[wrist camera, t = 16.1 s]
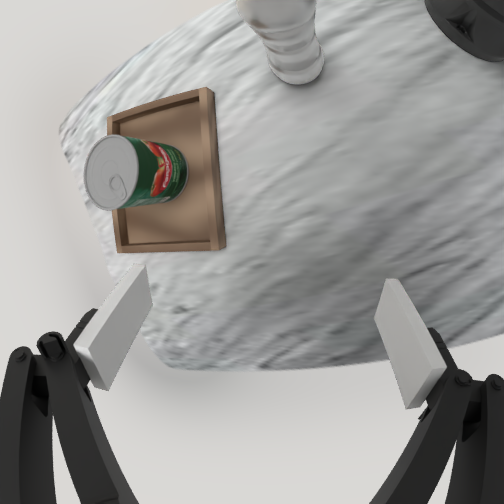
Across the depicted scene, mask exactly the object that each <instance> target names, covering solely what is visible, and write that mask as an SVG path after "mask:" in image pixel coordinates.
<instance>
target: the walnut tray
mask: <svg viewBox="0 0 504 504" xmlns="http://www.w3.org/2000/svg"><path fill="white" fill-rule="evenodd" d="M112 134H113V135H120V136H125V137H132V138H137V139H142V140H147V141H153V142H157V143H163V144H168V145H172V146H175V147H176V148H178V149H179V150H180V151H181V152H182V153H183V154H184V156H185V157H186V160H187V163H188V168H189V176H188V181H187V184H186V187H185V188H184V190H183V192H182V193H181V194H180V195H179V196H178V197H177V198H176V199H174V200H172V201H170V202H167V203H158V204H151V205H144V206H136V207H128V208H122V209H115V210H112V217H113V225H114V233H115V241H116V248H117V253H143V252H177V251H211V250H220V249H222V248H224V247H226V238H225V227H224V216H223V205H222V193H221V181H220V169H219V156H218V142H217V128H216V113H215V97H214V92H213V91H211V90H210V89H209V88H207V87H204V88H200V89H195V90H191V91H188V92H184V93H180V94H176V95H173V96H169V97H166V98H162V99H159V100H156V101H153V102H149V103H146V104H143V105H140V106H137V107H134V108H131V109H129V110H126V111H123V112H120V113H117V114H115V115H112V116H110V117H107V136H108V135H112Z"/></svg>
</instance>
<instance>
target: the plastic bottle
mask: <svg viewBox="0 0 504 504" xmlns="http://www.w3.org/2000/svg"><path fill="white" fill-rule="evenodd" d="M236 7H237V10H238V13H239V14H240V16H241V17H242V19H243V20H244V21H245V22H246V23H247V24H248V25H249V26H250V27H251V28H252V29H253V30H254V31H255V32H256V33H257V34H258V36H259V37H260V39H261V40H262V42H263V43H264V45H265V48H266V51H267V59H268V63H269V66H270V68H271V70H272V71H273V73H274V74H275V75H276V76H278V77H279V78H280V79H281V80H283V81H285V82H287V83H290V84H296V85H298V84H305V83H308V82H310V81H312V80H314V79H315V78H316V77H317V76H318V75H319V74H320V72H321V70H322V67H323V64H324V53H323V50H322V47H321V45H320V43H319V42H318V40H317V37H316V34H315V23H314V20H315V11H316V0H236Z"/></svg>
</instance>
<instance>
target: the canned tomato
mask: <svg viewBox="0 0 504 504" xmlns="http://www.w3.org/2000/svg"><path fill="white" fill-rule="evenodd" d="M188 176H189V168H188V163H187V160H186V157H185V156H184V154H183V153H182V152H181V151H180V150H179V149H178V148H176V147H175V146H172V145H168V144H163V143H157V142H153V141H147V140H142V139H137V138H132V137H125V136H120V135H113V134H112V135H108V136H105V137H103V138H101V139H100V140H99V141H98V142H96V144H95V145H94V146H93V147H92V149H91V151H90V152H89V154H88V157H87V159H86V163H85V167H84V184H85V189H86V192H87V194H88V196H89V198H90V200H91V201H92V203H93V204H94V205H96V206H97V207H98V208H100V209H102V210H107V211H108V210H115V209H122V208H128V207H136V206H144V205H151V204H158V203H167V202H170V201H172V200H174V199H176V198H177V197H178V196H179V195H180V194H181V193H182V192H183V190H184V188H185V187H186V184H187V181H188Z"/></svg>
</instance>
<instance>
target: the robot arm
mask: <svg viewBox="0 0 504 504" xmlns="http://www.w3.org/2000/svg"><path fill="white" fill-rule="evenodd" d="M425 3H426V6H427V9H428V11H429V13H430V15H431V17H432V18H433V20H434V21H435V23H436V24H437V25H438V26H439V28H440V29H441V30H442V31H443V32H444V33H445V34H446V35H447V36H448V37H449V38H450V39H451V40H452V41H453V42H455V43H456V44H457V45H458V46H460V47H461V48H463V49H464V50H466V51H467V52H469V53H470V54H472V55H474V56H476V57H478V58H481V59H484V60H487V61H493V62H499V61H503V60H504V0H425ZM152 306H153V303H152V298H151V293H150V287H149V282H148V276H147V270H146V265H141V264H133V265H132V266H131V268H130V269H129V270H128V271H127V273H126V274H125V275H124V276H123V278H122V279H121V280H120V282H119V283H118V284H117V285H116V287H115V288H114V290H113V291H112V292H111V293H110V295H109V296H108V297H107V299H106V300H105V301H104V303H103V304H102V305H101V307H100V308H99V309H94V308H93V309H91V310H90V311H89V312H87V313H86V314H85V315H84V316H83V317H82V319H81V320H80V322H79V323H78V324H77V325H76V328H74V330H73V331H72V332H71V334H70V335H69V336H68V338H67V339H66V341H64V339H63V337H62V335H61V334H60V333H58V332H48V333H46V334H44V335H42V336H41V337H40V338H39V340H38V341H37V348H38V349H39V351H40V353H41V355H33V353H32V352H31V350H30V349H29V348H28V347H24V346H22V347H19V348H17V349H15V350H14V351H13V352H12V353H11V355H10V358H9V362H8V365H7V369H6V374H5V378H4V382H3V387H2V392H1V397H0V504H57V503H56V495H55V485H54V472H53V451H52V419H53V416H54V420H55V425H56V429H57V433H58V436H59V440H60V444H61V447H62V451H63V454H64V457H65V460H66V464H67V467H68V470H69V473H70V475H71V478H72V481H73V484H74V487H75V489H76V492H77V494H78V497H79V499H80V502H81V504H139V503H138V501H137V499H136V498H135V496H134V494H133V492H132V490H131V488H130V487H129V485H128V483H127V481H126V479H125V477H124V475H123V473H122V471H121V469H120V467H119V464H118V463H117V460H116V458H115V456H114V454H113V451H112V449H111V447H110V444H109V442H108V440H107V437H106V435H105V432H104V430H103V427H102V425H101V422H100V419H99V417H98V414H97V411H96V408H95V405H94V403H93V399H92V397H91V393H90V390H89V388H88V386H87V384H88V382H89V381H90V380H91V382H92V383H93V385H94V387H96V388H99V389H102V390H106V391H109V389H110V387H111V385H112V383H113V381H114V378H115V377H116V374H117V372H118V370H119V368H120V366H121V364H122V362H123V360H124V359H125V357H126V354H127V353H128V350H129V349H130V347H131V345H132V343H133V341H134V339H135V337H136V335H137V333H138V332H139V330H140V328H141V326H142V324H143V322H144V320H145V319H146V317H147V315H148V313H149V311H150V309H151V308H152ZM374 320H375V322H376V325H377V327H378V330H379V333H380V335H381V338H382V340H383V343H384V346H385V349H386V351H387V354H388V357H389V360H390V362H391V365H392V368H393V371H394V374H395V377H396V380H397V382H398V386H399V389H400V392H401V395H402V398H403V401H404V404H405V408H406V409H411V408H417V407H420V406H421V405H422V404H423V402H424V401H425V399H426V401H427V404H428V406H427V408H426V409H425V410H424V412H423V413H422V414H421V416H420V417H419V418H418V419H419V420H420V421H419V423H418V425H417V427H416V429H415V431H414V433H413V435H412V437H411V439H410V440H409V442H408V444H407V446H406V448H405V449H404V451H403V453H402V455H401V456H400V458H399V460H398V461H397V463H396V465H395V466H394V468H393V470H392V471H391V473H390V474H389V476H388V478H387V479H386V481H385V482H384V483H383V485H382V486H381V488H380V489H379V491H378V492H377V494H376V495H375V496H374V498H373V499H372V501H371V502H370V503H369V504H427V503H428V501H429V499H430V498H431V496H432V494H433V492H434V490H435V488H436V486H437V484H438V482H439V480H440V478H441V475H442V473H443V471H444V469H445V466H446V464H447V462H448V460H449V457H450V455H451V452H452V450H453V447H454V445H455V442H456V439H457V442H456V450H455V456H454V463H453V469H452V474H451V479H450V484H449V489H448V493H447V497H446V502H445V504H504V380H503V378H501V377H500V376H499V375H496V374H491V375H489V376H488V377H487V378H486V380H485V381H477V380H473V379H472V377H471V376H470V375H469V373H467V372H466V371H464V370H461V369H458V368H457V366H456V364H455V362H454V360H453V358H452V356H451V354H450V352H449V350H448V349H447V347H446V345H445V343H443V342H444V341H443V340H442V338H441V336H440V334H439V333H438V332H437V331H436V330H435V329H433V328H426V326H425V324H424V322H423V320H422V319H421V317H420V315H419V313H418V312H417V310H416V308H415V306H414V305H413V303H412V301H411V300H410V298H409V296H408V295H407V293H406V291H405V290H404V288H403V286H402V285H401V283H400V282H399V280H398V279H386V280H385V284H384V287H383V291H382V294H381V297H380V300H379V304H378V307H377V310H376V313H375V316H374Z"/></svg>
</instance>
